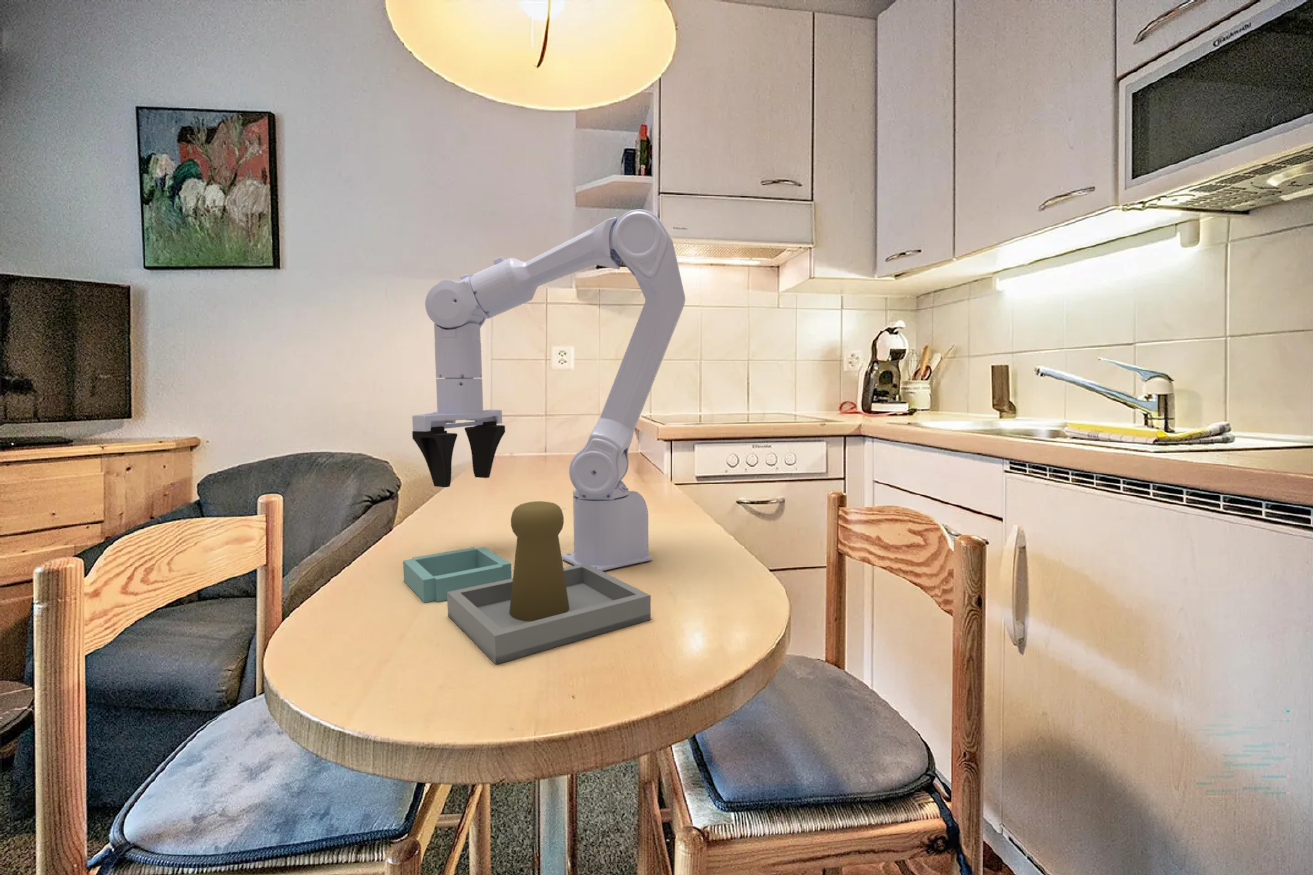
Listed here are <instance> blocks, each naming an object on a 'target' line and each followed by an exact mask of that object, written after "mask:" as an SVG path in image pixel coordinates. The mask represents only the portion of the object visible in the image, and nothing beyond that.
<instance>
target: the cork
mask: <svg viewBox="0 0 1313 875" xmlns="http://www.w3.org/2000/svg"><path fill="white" fill-rule="evenodd" d="M564 522H565V519H564V512H563V509H562V508H561V507H560V505H558V504H556V503H555V502H552V501H551V502H550V501H544V500H543V501H541V500H540V501H539V500H538V501H529V502H525V503H524V502H523V503H521V504H518V505H517V506H515V507H514V508H513V510H512V513H511V517H510V526H511V530H512V532H513V534H514V535H515V537H516V547H515V556H514V565H513V574H512V578H513V583H512V592H511V602H510V611H509V614H510V615H511V617H513V618H515V619H517V620H521V621H530V622H532V621H535V620H539V619H543V618H547V617H551V616H555V615H559V614H563V613H567V612H568V611H569V609H570V608H569V602H568V595H567V589H566V582H565V576H564V569H563V568H564V564H563V563H564V562H563V559H562V551H561V543H560V538H559V535H560V533H561V531H562V530H563V527H564Z"/></svg>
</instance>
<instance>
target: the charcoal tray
mask: <svg viewBox="0 0 1313 875" xmlns="http://www.w3.org/2000/svg"><path fill="white" fill-rule="evenodd" d="M563 569H564V576H565V582H566V589H567V595H568V602H569V608H570V609H569V611H568V612H567V613H563V614H559V615H555V616H551V617H547V618H543V619H539V620H535V621H532V622H530V621H521V620H517V619H515V618H513V617H511V615H510V614H509V611H510V602H511V592H512V583H513V577H511V578H512V579H507V580H503V581H498V582H493V583H488V584H483V585H478V586H474V587H469V588H464V589H459V590H454V591H450V592H447V600H446V601H447V616H448V617H449V619H450V620H451V621H452V622H453V623H454V624H455V625H456V626H457V627H458V628H459V629H460V630H461V631H462V632H463V633H464V634H465V635H466V636H467V637H468V638H469V639H470V640H471V641H472V642H473V643H474V645H476V646H477V647H478V648H479V649H480V651H482V653H484V654H485V655H486V656H487V657H488V659H490V660H491V662H492V663H494V665H499V664H503V663H506V662H509V661H510V662H511V661H513V660H516V659H521V658H523V657H528V656H529V655H533V654H538V653H541V652H544V651H548V650H550V649H554V648H558V647H561V646H565V645H568V644H572V643H575V642H579V641H582V640H585V639H589V638H592V637H595V636H599V635H603V634H606V633H609V632H613V631H616V630H620V629H624V628H627V627H630V626H634V625H637V624H641V623H644V622H646V621H647V622H648V621H651V619H652V617H651V616H652V614H651V612H652V611H651V606H652V605H651V602H652V601H651V600H652V599H651V598H652V597H651V596H652V595H651V594H648V593H647V592H645V591H643V590H641V589H638V588H637V587H635V586H633V585H631V584H629V583H627V582H624V581H623V580H621V579H618V578H617V577H616V576H612V575H610V574H608V573H607V572H604V571H601V570H599V569H597V568H595V567H593V566H591V565H588V564H586V563H584V564H580V565H571V566H566V567H563Z"/></svg>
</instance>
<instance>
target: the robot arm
mask: <svg viewBox="0 0 1313 875" xmlns="http://www.w3.org/2000/svg"><path fill="white" fill-rule="evenodd" d="M667 230H668V229H666V227H665V225H664V224H663V222H662V221H661V219H660V218H659V217H658V216H657V215H656V214H654V213H653V212H651V211H649V210H645V209H638V208H637V209H633V210H630V211H627V212H625V213H624V214H623V215H621V216H620V217H619V218H618V217H617V216H615V217H611V218H607V219H606V220H604V221H602V222H600V223H598V224H597V225H595V226H594V227H592V228H590V229H587V230H586V231H584V232H582V233H580V234H579V235H576V236H575V237H573V238H570V239H568V240H566V241H565V242H562V243H560V244H559V245H556V246H554V247H553V248H552V247H551V249H549V250H546V251H545V252H543V253H541V254H539V255H537V256H535V257H533V258H531V259H529V260H527V261H522V260H519V259H518V258H515V257H509V258H505V257H503V256H498V257H496V258H494V259H492V261H493V264H494V265H492V266H489V267H486V268H484V269H482V270H480V271H477V272H476V273H473V274H471V275H470V274H468V273H464V274H462V275H460V276H459V277H460V278H459V279H460V281H456V280H452V279H442V280H440V281H439V282H438V283H437V284H435V285H434V286H432V287H431V288H430V289H429V291H428V293H427V294H426V297H425V303H424V305H425V312H426V314H427V316H428V318H429V319H430V320H431V321H432V322H433V324H434V325H433V327H434V328H433V329H434V330H433V332H434V359H435V361H434V363H435V378H436V379H435V382H436V408H437V409H436V410H437V411H433V412H431V413H425V414H413V415H412V417H411V418H412V431H411V432H412V433H411V434H412V440H413V441H414V442H415V444H416V445H417V447H418V449H419V451H420V452H421V454H422V456H423V457H424V460H425V461H426V462H425V463H426V465H427V468H428V470H429V474H430V476H431V480H432V483H433V487H436V488H438V487H439V488H449V487H450V486H451V482H452V465H453V464H452V461H453V452H454V450H455V449H454V448H455V444H456V441H457V439H458V438H457V437H458V433H456V432H448V431H447V430H445V429H454V428H462V427H463V428H464V431H465V433H466V436H467V439H468V443H469V447H470V453H471V461H472V470H473V476H474V478H481V479H482V478H483V479H488V478H490V476H491V473H492V468H493V463H494V460H495V455H496V452H497V449H498V446H499V444H500V442H501V440H502V438H503V436H505V433H506V425H503V424H502V423H503V410H502V409H484V395H483V394H484V392H483V389H484V388H483V368H482V343H481V339H482V338H481V327H482V326H483V325H484V324H485V322H486V320H489V319H491V318H494V317H496V316H498V315H501V314H503V313H505V312H508V311H510V310H512V309H514V308H516V307H519V306H522V305H523V304H526V303H528V302H531V301H532V300H533V299H534V295H535V294H536V291H537V290H538V288H539V286H543V285H545V284H548V283H550V282H553V281H555V280H558V279H561V278H563V277H565V276H569V275H571V274H574V273H576V272H579V271H582V270H584V269H586V268H589V267H592V266H600V267H601V266H602V267H604V268H605V267H606V268H608V269H609V268H610V269H614V270H620V269H621V268H620V261H622V262H623V264H624V265H625V267H626V268H627V269H628V271H630V273H631V274H632V275H633V276H634V277H635V279H636V281H637V284H638V286H639V288H640V290H641V293H642V294H643V297H644V299H645V300H644V301H645V302H644V304H643V307H642V309H641V310H640V314H639V317H638V319H637V322H636V325H635V327H634V329H633V332H632V335H631V337H630V339H629V342H628V345H627V348H626V350H625V353H624V355H623V358H622V360H621V363H620V366H619V368H618V370H617V372H616V375H615V378H614V381H613V383H612V385H611V388H610V391H609V393H608V396H607V399H606V401H605V404H604V407H603V408H602V411H601V414H600V416H599V418H598V421H597V422H596V424H595V426H594V428H593V429H592V431H591V433H590V434H589V437H588V439H587V442H586V443H585V445H584V446H583V447H582V448H581V449H580V450H579V451H578V452H577V453H576V454H575V455H574V456H573V458H572V459H571V461H570V465H569V467H568V468H569V470H568V475H569V479H570V481H571V484H572V486H573V487H574V490H573V491H572V502H573V503H572V507H573V510H572V511H573V512H572V513H573V517H572V518H573V552H570V553H564V554H561V556H562V560H563V561H566V562H568V563H570V564H571V565H572V566H575V565H580V564H584V563H586V564H588V565H591V566H593V567H595V568H597V569H599V570H601V571H603V572H604V571H607V570H612V569H617V568H621V567H626V566H630V565H634V564H640V563H643V562H649V561H651V560H653V558H652V557H653V556H652V555H650V554H649V509H648V504H647V503H646V500H645V498H644V497H643V495H642V494H641V493H640V492H638V491H636V490H630V489H629V487H627V485H626V484H625V483H624V481H622V480H623V479H624V477H626V475H627V472H628V470H629V464H630V461H629V449H630V446H631V443H632V441H633V437H634V434H635V429H636V427H637V425H638V422H639V419H640V418H641V415H642V412H643V410H644V407H645V404H646V402H647V399H648V396H649V395H650V392H651V390H652V386H653V384H654V382H655V380H656V377H657V374H658V372H659V369H660V367H661V365H662V362H663V359H664V357H665V356H666V355H665V354H666V352H667V350H668V347H669V344H670V342H671V340H672V337H673V334H674V332H675V329H676V328H677V324H678V321H679V319H680V318H681V314H682V312H683V310H684V307H685V305H686V304H685V302H686V294H685V290H684V285H683V281H682V277H681V273H680V268H679V267H680V266H679V264H678V259H677V255H676V251H675V246H674V241H673V239H672V237H671V235H670V234H669V232H668V231H667ZM456 421H464V422H456Z"/></svg>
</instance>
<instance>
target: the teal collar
mask: <svg viewBox="0 0 1313 875" xmlns="http://www.w3.org/2000/svg"><path fill="white" fill-rule="evenodd" d="M402 565H403V566H402V568H403V582H404V583H405V584H406V585H407V586H408V587H409V588H410V590H412V592H414V594H415V595H416V596H417V597H418V598H419V599H420V600H421V601H422V602H423V603H424V604H425V603H430V602H434V601H436V603H438V602H444V601H447V592H450V591H454V590H459V589H464V588H469V587H474V586H478V585H483V584H488V583H493V582H498V581H503V580H507V579H512V578H513V577H512V563H511V562H510V561H508V560H506V559H505V558H503V557H502V556H500V555H498V554H497V553H495V552H493V551H492V550H491V549H489V548H487V547H486V546H481V547H474V546H473V547H467V548H461V549H457V550H456V549H455V550H450V551H449V550H448V551H443V552H437V553H432V554H426V555H420V556H413V557H412V558H410V559H405V560H403V561H402Z"/></svg>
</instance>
